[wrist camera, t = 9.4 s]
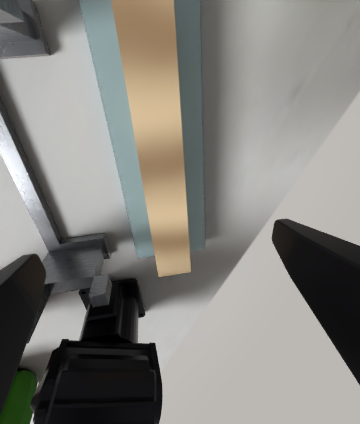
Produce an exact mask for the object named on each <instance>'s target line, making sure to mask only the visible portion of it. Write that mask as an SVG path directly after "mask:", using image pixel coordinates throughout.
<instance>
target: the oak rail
mask: <svg viewBox="0 0 360 424" xmlns="http://www.w3.org/2000/svg"><path fill="white" fill-rule="evenodd" d="M111 2H112V8H113V14H114V19H115V25H116V31H117V37H118V43H119V49H120V55H121V60H122V66H123V72H124V78H125V84H126V90H127V96H128V101H129V107H130V113H131V119H132V125H133V131H134V137H135V142H136V148H137V154H138V160H139V166H140V172H141V178H142V183H143V189H144V195H145V201H146V207H147V213H148V219H149V224H150V230H151V236H152V242H153V248H154V254H155V260H156V265H157V271H158V277H163V276H169V275H176V274H182V273H188V272H191V263H190V248H189V232H188V216H187V201H186V185H185V169H184V154H183V138H182V122H181V107H180V91H179V75H178V60H177V44H176V28H175V13H174V0H111Z"/></svg>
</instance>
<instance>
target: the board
mask: <svg viewBox="0 0 360 424" xmlns="http://www.w3.org/2000/svg"><path fill="white" fill-rule="evenodd" d="M79 2H80V7H81V11H82V16H83V20H84V24H85V29H86V33H87V38H88V42H89V46H90V51H91V55H92V59H93V64H94V68H95V73H96V77H97V81H98V86H99V90H100V95H101V99H102V103H103V108H104V112H105V117H106V121H107V125H108V130H109V134H110V139H111V143H112V147H113V152H114V156H115V160H116V165H117V169H118V174H119V178H120V182H121V187H122V191H123V196H124V200H125V204H126V209H127V213H128V218H129V222H130V226H131V231H132V235H133V240H134V244H135V248H136V253H137V257H138V258H143V257H150V256H155V254H154V248H153V242H152V236H151V230H150V224H149V219H148V213H147V207H146V201H145V195H144V189H143V183H142V178H141V172H140V166H139V160H138V154H137V148H136V142H135V137H134V131H133V125H132V119H131V113H130V107H129V101H128V96H127V90H126V84H125V78H124V72H123V66H122V60H121V55H120V49H119V43H118V37H117V31H116V25H115V19H114V14H113V8H112V2H111V0H79ZM174 13H175V28H176V44H177V60H178V75H179V91H180V107H181V122H182V138H183V154H184V169H185V185H186V201H187V216H188V232H189V248H190V250H196V249H203V248H205V218H204V169H203V121H202V72H201V24H200V0H174Z"/></svg>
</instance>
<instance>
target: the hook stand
mask: <svg viewBox="0 0 360 424" xmlns="http://www.w3.org/2000/svg"><path fill="white" fill-rule="evenodd" d="M49 55H50V52H49V49H48V45H47V42H46V39H45V36H44V32H43V29H42V26H41V22H40V19H39V16H38V13H37V9H36V6H35V3H34V2H33V1H32V0H0V59H8V58H21V57H35V56H49ZM0 153H1V155H2V157H3V159H4V161H5V163H6V166H7V168H8V170H9V172H10V174H11V176H12V178H13V180H14V182H15V184H16V186H17V188H18V190H19V192H20V194H21V196H22V198H23V200H24V202H25V204H26V206H27V208H28V210H29V212H30V214H31V216H32V219H33V221H34V223H35V225H36V227H37V229H38V231H39V233H40V235H41V237H42V239H43V241H44V243H45V245H46V247H47V249H48V251H49V252H48V254H47V256H46V258H45V259H44V261H43V263H42V264H43V266H44V268H45V270H46V280H45V284H44V288H43V292H42V296H41V300H40V304H39V308H38V312H37V315H36V319H35V322H34V324H33V327H32V330H31V333H30V335H29V338H28V341H27V343H29V341H30V339H31V336H32V334H33V332H34V330H35V327H36V325H37V323H38V321H39V319H40V316H41V314H42V312H43V310H44V307H45V305H46V303H47V301H48V298H49V296H50V294H54V293H60V292H67V291H73V290H79V289H85V288H90V292H89V296H88V297H89V300H90V302H91V304H92V307H98V306H104V305H109V301H110V294H111V288H112V282H111V279H110V276H109V274H106V275H100V274H101V270H102V265H103V261H104V259H109V258H110V255H111V252H110V248H109V245H108V242H107V239H106V235H105V233H102V234H95V235H88V236H81V237H74V238H66V239H62V238H61V236H60V233H59V231H58V229H57V226H56V224H55V222H54V220H53V217H52V215H51V213H50V210H49V208H48V206H47V203H46V201H45V199H44V197H43V194H42V192H41V190H40V187H39V185H38V183H37V180H36V178H35V176H34V174H33V171H32V169H31V167H30V164H29V162H28V160H27V157H26V155H25V153H24V151H23V148H22V146H21V144H20V141H19V139H18V137H17V134H16V132H15V130H14V128H13V125H12V123H11V121H10V118H9V116H8V114H7V111H6V109H5V107H4V105H3V102H2V100H1V98H0Z"/></svg>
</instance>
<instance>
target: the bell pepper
mask: <svg viewBox="0 0 360 424" xmlns="http://www.w3.org/2000/svg"><path fill="white" fill-rule="evenodd" d="M36 389H37V380H36V377H35V375H34V374H33V373H32V372H31V371H26V370H22V371H16V374H15V377H14V379H13V382H12V385H11V388H10V390H9V393H8V396H7V399H6V401H5V404H4V407H3V410H2V412H1V415H0V424H30V421H31V418H32V414H33V411H32V409H31V408H30V404H31V400H32V397H33V395H34V393H35V391H36Z"/></svg>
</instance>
